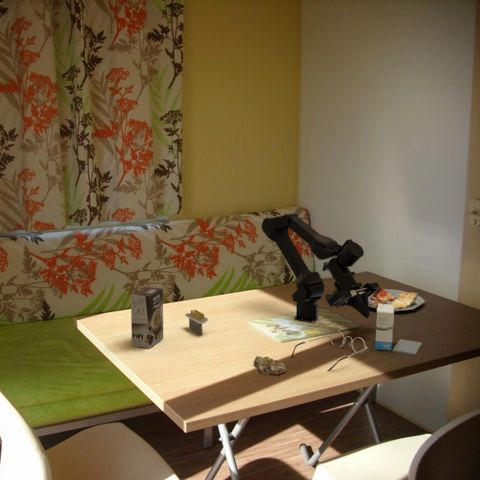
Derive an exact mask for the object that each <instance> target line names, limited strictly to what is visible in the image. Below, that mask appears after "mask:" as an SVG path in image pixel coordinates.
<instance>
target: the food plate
mask: <svg viewBox="0 0 480 480" xmlns="http://www.w3.org/2000/svg"><path fill="white" fill-rule="evenodd" d="M368 303H370V305H369V308H372V309H376V310H377V308H378V304H389V305H394V313H398V312H399V311H400V312H402V311H408V310H415V309H416V308H418V307H420V306H421V305H423V304H424V303H426V300H425V299H424V298H423V297H422V296H421V295H419V293H418V292H417V291H410V292H409V291H405V290H401V289H391V288H384V287H382V286H381V287H380V288H379V289H378V290H377V291H376V292H374V293H373V294H372V295H371V296H370V297H368Z"/></svg>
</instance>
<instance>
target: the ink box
mask: <svg viewBox="0 0 480 480" xmlns="http://www.w3.org/2000/svg"><path fill="white" fill-rule="evenodd" d="M394 320H395V312H394V305H389V304H378V308H377V309H376V323H375V342H374V343H375V344H374V345H375V346H374V347H375V348H374V349H375V350H380V351H381V350H382V351H392V350H393V339H394V338H393V335H394V324H395V323H394Z"/></svg>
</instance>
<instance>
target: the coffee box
mask: <svg viewBox="0 0 480 480" xmlns="http://www.w3.org/2000/svg"><path fill="white" fill-rule="evenodd" d="M163 291H164V288H160V287H152V286H151V287H148V286H144V287H142V288H140V289H138V290H136V291H134V292H132V293H130V307H131V308H130V313H131V314H130V315H131V316H130V317H131V318H130V319H131V321H130V323H131V346H132V347H136V348H143V349H152V348H153V347H154V346H156V345H157V344H159V343H160V342H161V341H162V340H164V292H163Z"/></svg>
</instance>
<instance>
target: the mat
mask: <svg viewBox="0 0 480 480" xmlns="http://www.w3.org/2000/svg"><path fill="white" fill-rule="evenodd" d="M422 345H423V342H419V341H415V340H414V341H413V340H407V339H399V340H398V341H397V342H396V344H395V346H394V347H393V348H392V353H397V354H402V355H403V354H404V355H411V356H417V353H418V352H419V350H420V348H421V347H422Z"/></svg>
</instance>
